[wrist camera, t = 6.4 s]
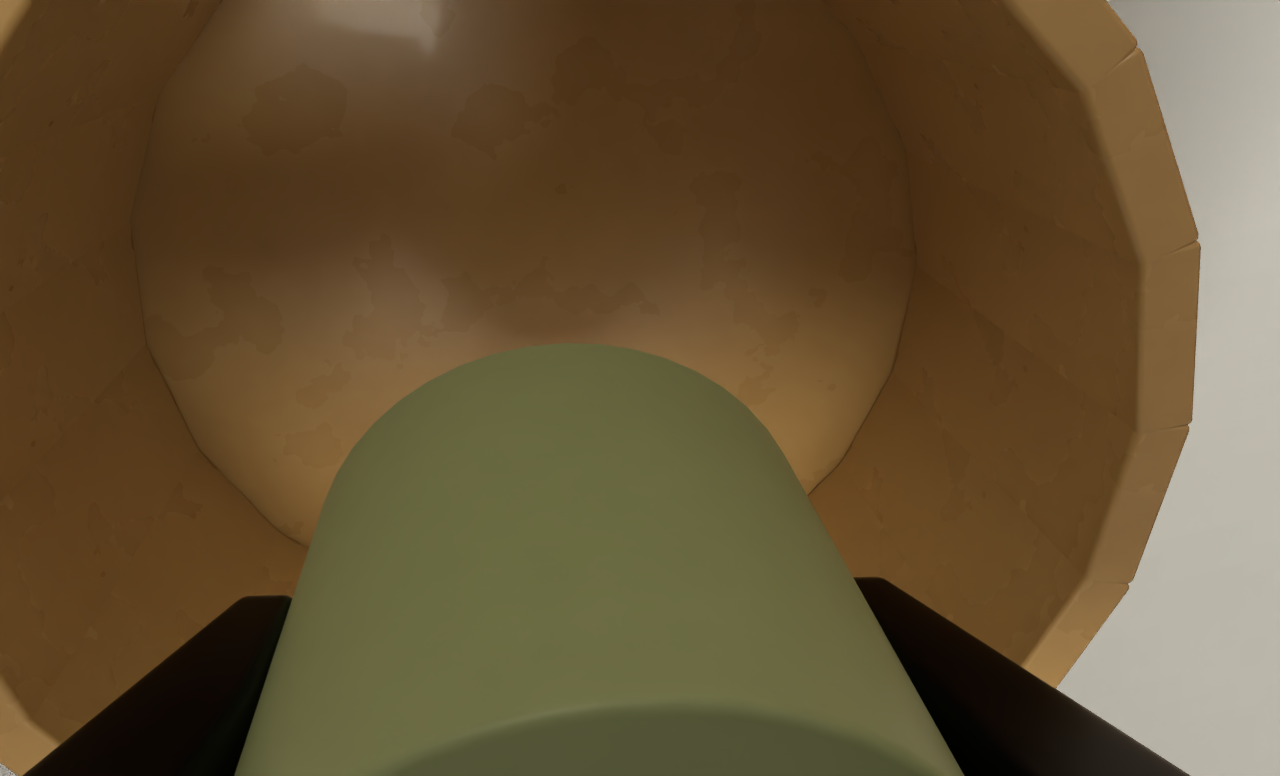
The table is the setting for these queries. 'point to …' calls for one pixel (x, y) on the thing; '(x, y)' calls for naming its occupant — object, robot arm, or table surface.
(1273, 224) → the table surface
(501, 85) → the wooden round box
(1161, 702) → the table surface
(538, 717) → the candle
